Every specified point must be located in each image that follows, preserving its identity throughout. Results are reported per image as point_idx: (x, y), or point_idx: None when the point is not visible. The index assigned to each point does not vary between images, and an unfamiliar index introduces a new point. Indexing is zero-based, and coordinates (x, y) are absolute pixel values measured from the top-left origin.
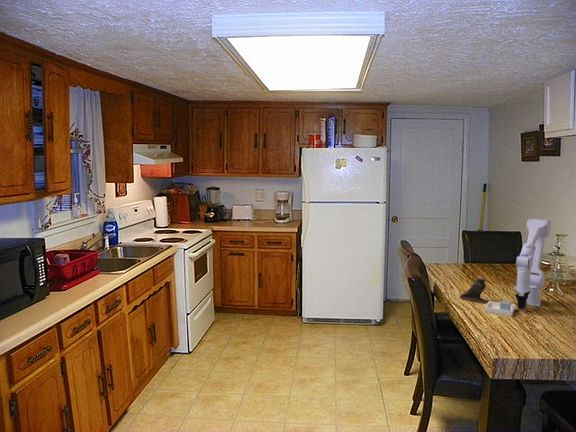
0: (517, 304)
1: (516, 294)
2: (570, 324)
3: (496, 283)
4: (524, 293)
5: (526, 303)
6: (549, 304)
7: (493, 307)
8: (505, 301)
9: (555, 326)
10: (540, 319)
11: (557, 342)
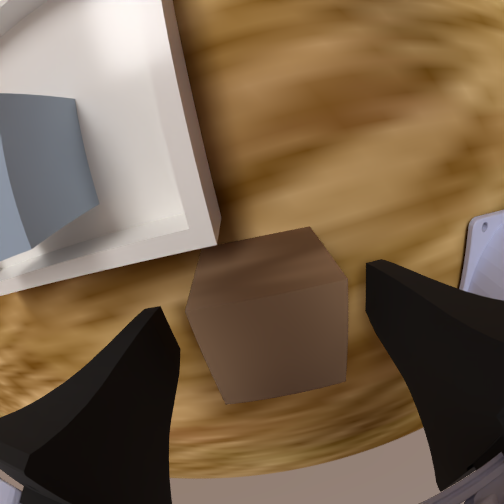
0: (189, 296)
1: (2, 467)
2: (190, 477)
3: None
4: (455, 426)
5: (264, 396)
6: None
7: (67, 21)
8: (4, 157)
9: None
10: None
11: None
